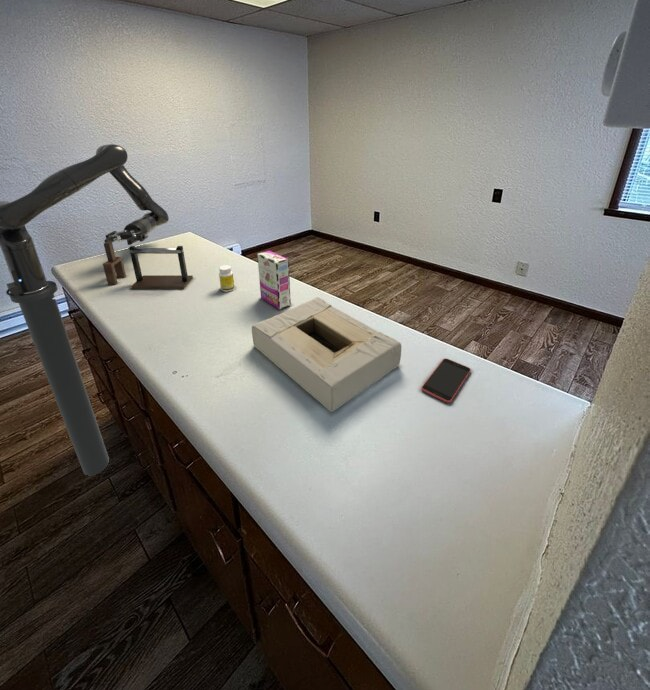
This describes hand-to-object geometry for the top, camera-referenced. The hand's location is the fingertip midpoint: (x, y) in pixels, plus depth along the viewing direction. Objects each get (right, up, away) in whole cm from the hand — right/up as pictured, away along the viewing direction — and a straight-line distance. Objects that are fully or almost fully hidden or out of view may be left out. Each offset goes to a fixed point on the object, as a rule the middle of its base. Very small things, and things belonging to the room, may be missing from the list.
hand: (117, 242), depth 136 cm
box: (+78, -31, -42) cm, 94 cm away
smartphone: (+107, -35, -51) cm, 124 cm away
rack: (+19, -15, -3) cm, 24 cm away
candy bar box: (+62, -20, -16) cm, 67 cm away
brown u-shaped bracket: (0, -14, 0) cm, 14 cm away
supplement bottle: (+44, -17, -7) cm, 47 cm away
